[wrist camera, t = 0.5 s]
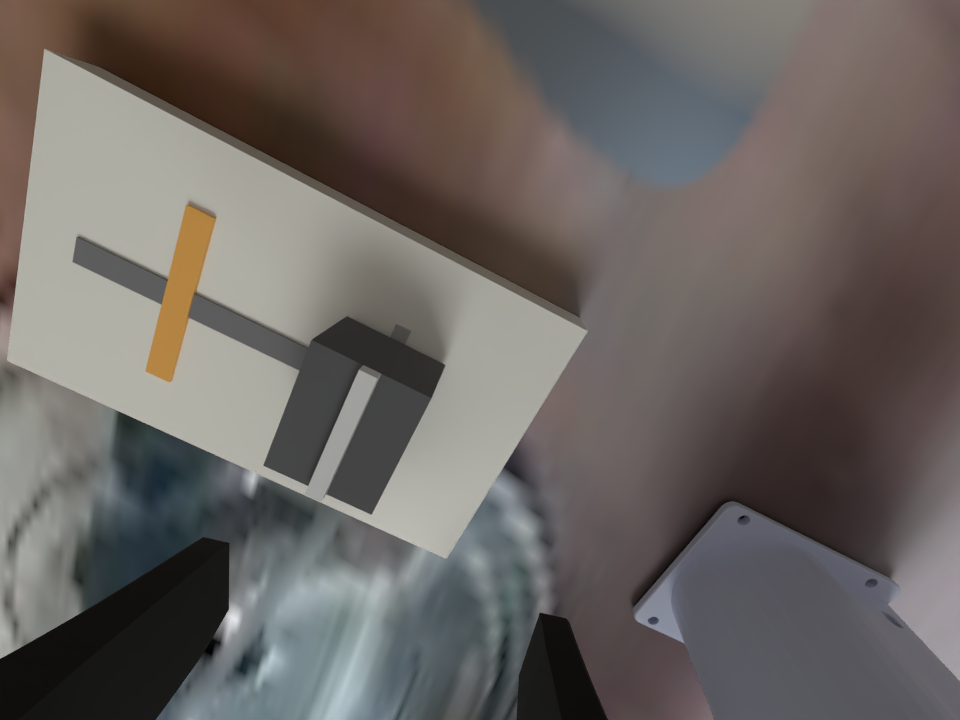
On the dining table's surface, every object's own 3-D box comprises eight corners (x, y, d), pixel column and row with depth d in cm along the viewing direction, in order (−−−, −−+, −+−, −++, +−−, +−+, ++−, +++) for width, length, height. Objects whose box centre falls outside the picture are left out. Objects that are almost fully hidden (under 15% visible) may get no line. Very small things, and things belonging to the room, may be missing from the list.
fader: (445, 365, 16) (429, 403, 13) (393, 466, 18) (368, 522, 15) (346, 315, 16) (305, 343, 13) (303, 424, 18) (256, 472, 14)
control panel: (579, 317, 18) (588, 332, 16) (452, 528, 22) (446, 561, 20) (99, 67, 16) (39, 47, 14) (54, 346, 20) (2, 361, 18)
